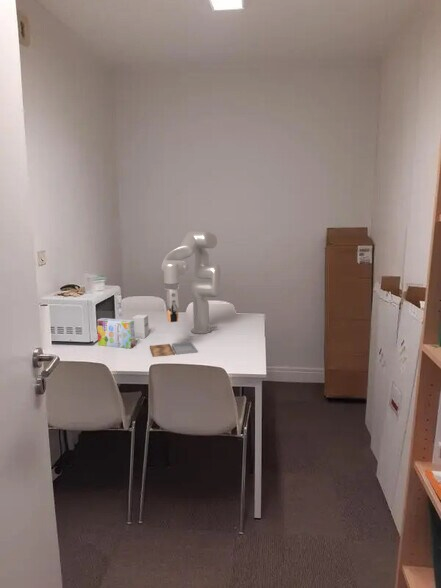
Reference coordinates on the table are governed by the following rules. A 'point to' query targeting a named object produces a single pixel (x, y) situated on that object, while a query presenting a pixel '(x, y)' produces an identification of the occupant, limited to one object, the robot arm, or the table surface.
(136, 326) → the supplement box
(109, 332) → the snack box
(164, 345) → the wooden tray
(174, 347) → the grey tray
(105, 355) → the table surface
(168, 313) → the letter cube
